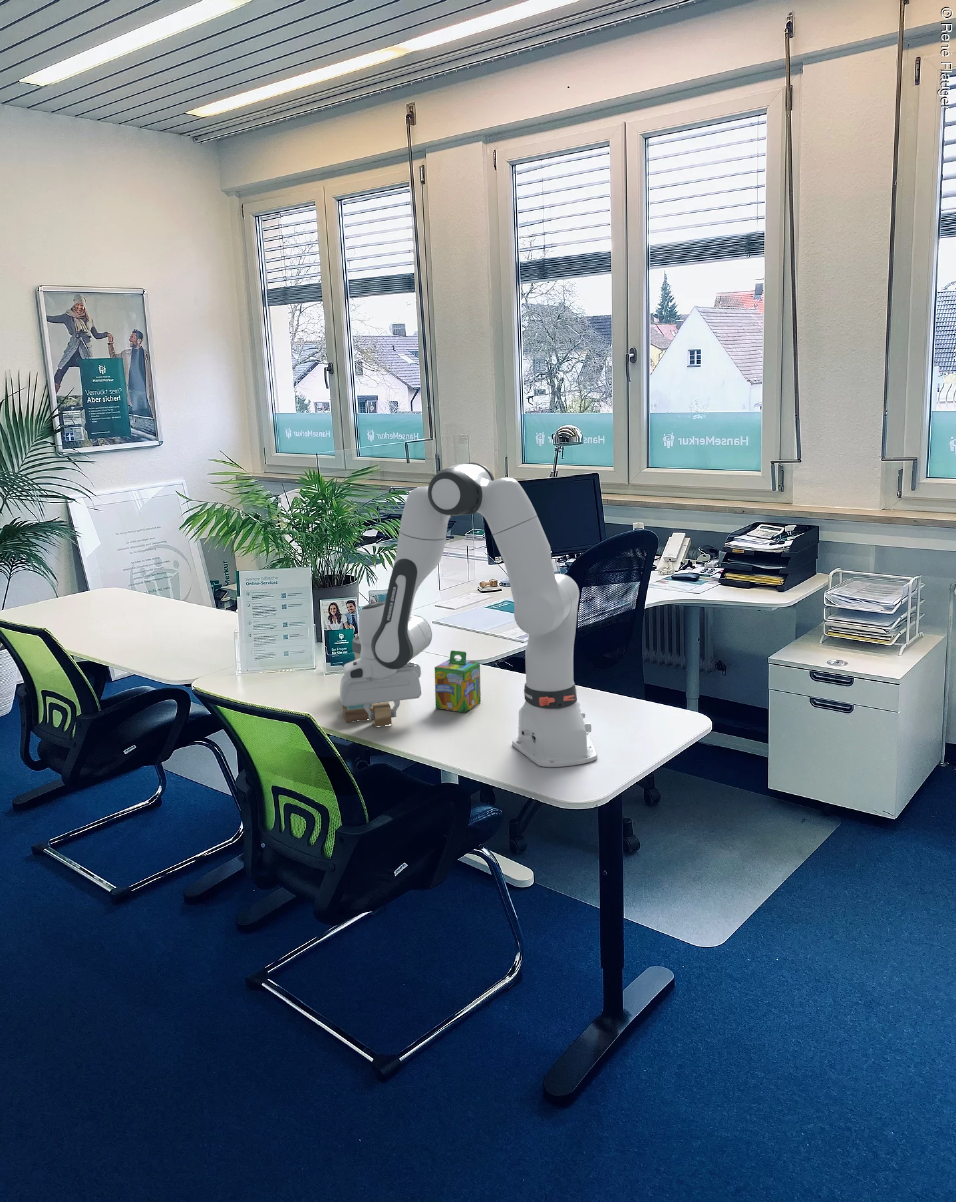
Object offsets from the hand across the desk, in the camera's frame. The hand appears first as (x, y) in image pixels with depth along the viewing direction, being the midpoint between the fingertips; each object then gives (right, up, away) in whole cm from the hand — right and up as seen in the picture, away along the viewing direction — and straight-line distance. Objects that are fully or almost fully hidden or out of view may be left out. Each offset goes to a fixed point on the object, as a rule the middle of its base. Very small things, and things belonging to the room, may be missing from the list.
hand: (382, 717), depth 242 cm
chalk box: (+19, +2, +11) cm, 22 cm away
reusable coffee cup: (-4, +4, +26) cm, 27 cm away
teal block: (-7, +3, +6) cm, 10 cm away
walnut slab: (-7, 0, +7) cm, 10 cm away
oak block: (0, -2, 0) cm, 2 cm away
